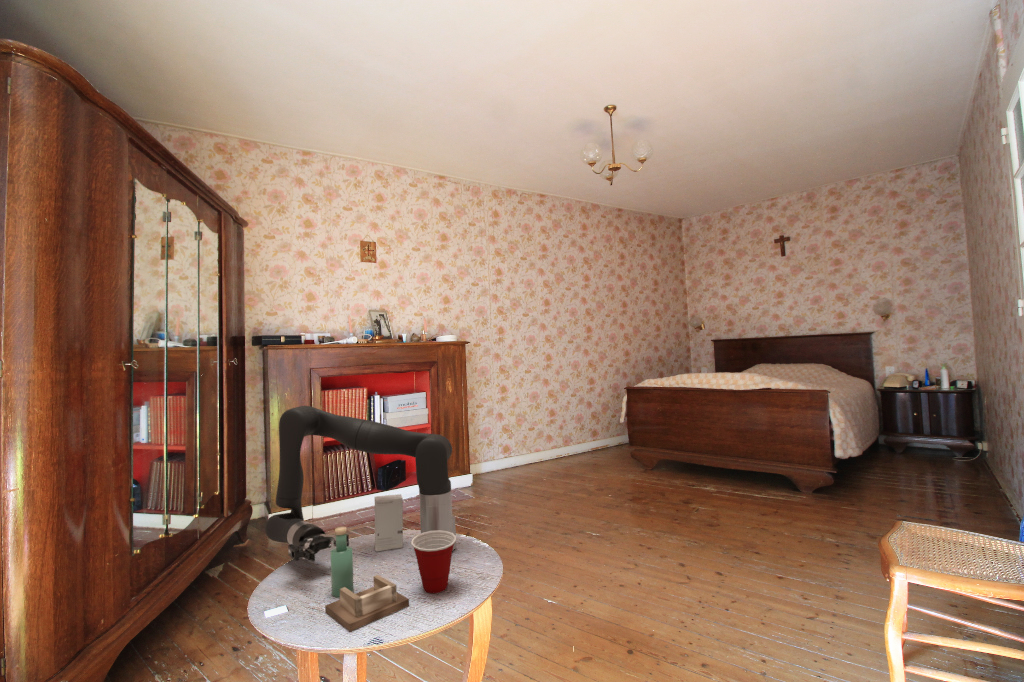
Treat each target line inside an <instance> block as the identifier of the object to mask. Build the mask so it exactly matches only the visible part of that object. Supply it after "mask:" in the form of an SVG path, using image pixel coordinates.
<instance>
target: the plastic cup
mask: <svg viewBox="0 0 1024 682" xmlns="http://www.w3.org/2000/svg"><path fill="white" fill-rule="evenodd" d="M455 542H456V543H457V535H456V536H455V535H454V534H453V533H451V532H448V531H441V530H438V531H429V532H424V533H421V532H420V533H419V534H417V535H416V536H414V537H413V538H412V539H411V546H412V548H413V550H414V553H415V557H416V562H417V567H418V571H419V576H420V579H421V584H422V588H423V591H424V592H425V593H427V594H439V593H441V592H442V593H443V592H444V591H446V590H447V589H448V585H449V579H450V578H449V577H450V571H451V565H452V564H451V563H452V554H453V552H454V550H453V546H454V543H455ZM452 551H453V552H452Z"/></svg>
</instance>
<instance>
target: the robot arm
mask: <svg viewBox="0 0 1024 682" xmlns="http://www.w3.org/2000/svg"><path fill="white" fill-rule="evenodd" d="M307 436H317V437H318V436H319V437H325V438H330V439H332V440H334V441H337V442H339V443H340V444H342V445H344V446H345V447H347V448H349V449H352V450H355V451H358V452H362V453H368V454H371V455H372V454H373V455H400V456H401V455H402V456H408V457H412V458H415V473H416V474H415V475H416V483H417V486H418V490H419V491H418V493H419V496H418V497H419V521H420V522H419V523H420V525H419V526H420V534H421V533H424V532H429V531H438V530H441V531H448V532H451V533H453V534H454V535H455V536H456V537H457V533H456V530H457V529H456V516H455V515H453V504H452V503H453V501H452V481H451V480H450V478H449V468H448V467H449V466H448V461H449V460H450V458H451V456H452V453H453V446H452V444H451V442H450V440H449V439H448V438H447V437H445V436H444V435H441V434H436V433H426V432H417V431H410V430H407V429H403V428H399V427H397V426H394V425H393V426H392V425H389V424H385V423H382V422H378V421H373V420H369V419H363V418H358V417H352V416H347V415H339V414H335V413H331V412H328V411H325V410H322V409H320V408H316V407H314V406H311V405H299V406H297V407H291V408H288V409H286V410H285V411H284V412H283V413H282V414H281V415H280V418H279V422H278V437H279V438H278V440H279V441H278V442H279V443H278V444H279V470H278V471H279V474H278V481H277V489H276V494H275V495H276V496H275V505H276V506H277V507H278V508H281V509H287V510H288V509H290V512H285V513H279V514H274V515H271V516H270V517H269V518H268V519H267V520H266V522H265V525H264V533H265V535H266V537H267V538H268V539H269V540H271V541H273V542H279V543H287V544H288V552H287V553H288V556H289V557H290V558H291V559H292V560H293V561H297V562H298V561H299V560H300V559H301V558H302V560H307V561H310V562H315V561H316V554H318V553H319V552H320V551H321V552H322V551H326V550H327V551H331V550H333V549H335V548H336V535H335V534H327V533H326V532H325V530H323V528H322V527H320V526H318V525H316V524H314V523H311V522H309V521H306V520H305V519H304V514H303V508H302V496H303V489H304V481H305V480H304V477H305V476H304V470H303V465H302V459H301V451H302V445H303V442H304V438H305V437H307ZM349 538H350V536H349V534H347V533H346V541H347V546H349V547H350V542H349V541H350V539H349ZM454 549H455V550H457V541H456V542H455V543H454V546H453V551H454Z"/></svg>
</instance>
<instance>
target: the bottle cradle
mask: <svg viewBox="0 0 1024 682" xmlns="http://www.w3.org/2000/svg"><path fill="white" fill-rule="evenodd" d="M372 579H373V586H372V587H369V588H367V589H365V590H361V591H359V592H356V593H354V591H353V592H352V591H350V590H349V589H347V588H345V587H344V588H341V589H340V597H339V599H337V600H336V601H334V602H331V603H328V604H326V605H324V606H325V607H324V609H325V610H324V611H325V612H324V613H326V614H327V616H329V617H330V618H332V619H333V620H334V621H335V622H337V623H338V624H339V625H341V626H342V627H343V628H344V629H345V630H347V631H348V632H352V631H355V630H357V629H359V628H362V627H364V626H366V625H369V624H371V623H373V622H376V621H378V620H380V619H383V618H384V617H388V616H389V615H391V614H394V613H396V612H398V611H401V610H403V609H405V608H408V607H410V599H409V598H408V597H406V596H404V595H402V594H401V593H399V592H397V591H398V590H397V584H395V583H393V582H392V581H390V580H388V579H387V578H385V577H383V576H381V575H379V574H377V575H374V576H373V578H372Z"/></svg>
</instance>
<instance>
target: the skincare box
mask: <svg viewBox="0 0 1024 682" xmlns="http://www.w3.org/2000/svg"><path fill="white" fill-rule="evenodd" d="M403 503H404V502H403V496H402V494H388V495H378V496H374V549H375V552H376V553H377V552H383V551H389V550H394V549H395V550H396V549H402V548H403V547H404V541H403V540H404V539H403V537H404V533H403V532H404V531H403V529H404V528H403V527H404V526H403V525H404V520H403V519H404V515H403V513H404V507H403Z"/></svg>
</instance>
